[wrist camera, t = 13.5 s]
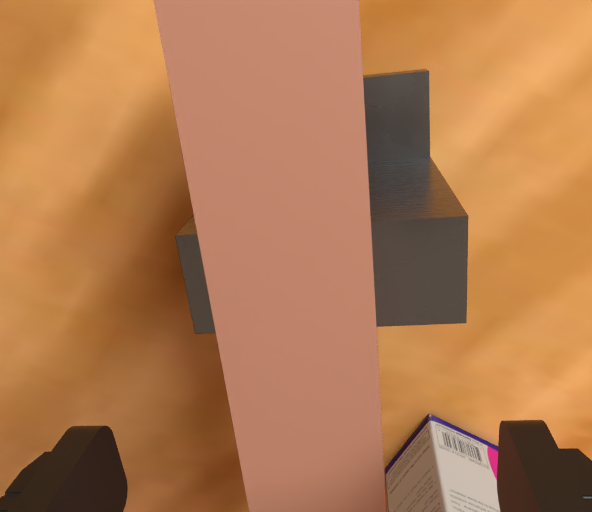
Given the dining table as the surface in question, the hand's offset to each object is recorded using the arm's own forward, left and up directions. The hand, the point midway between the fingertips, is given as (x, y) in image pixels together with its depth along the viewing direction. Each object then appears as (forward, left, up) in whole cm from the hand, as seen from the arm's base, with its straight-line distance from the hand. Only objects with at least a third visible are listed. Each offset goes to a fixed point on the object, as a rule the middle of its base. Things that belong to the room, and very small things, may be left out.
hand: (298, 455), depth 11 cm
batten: (0, 0, -8) cm, 8 cm away
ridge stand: (0, 0, -19) cm, 19 cm away
